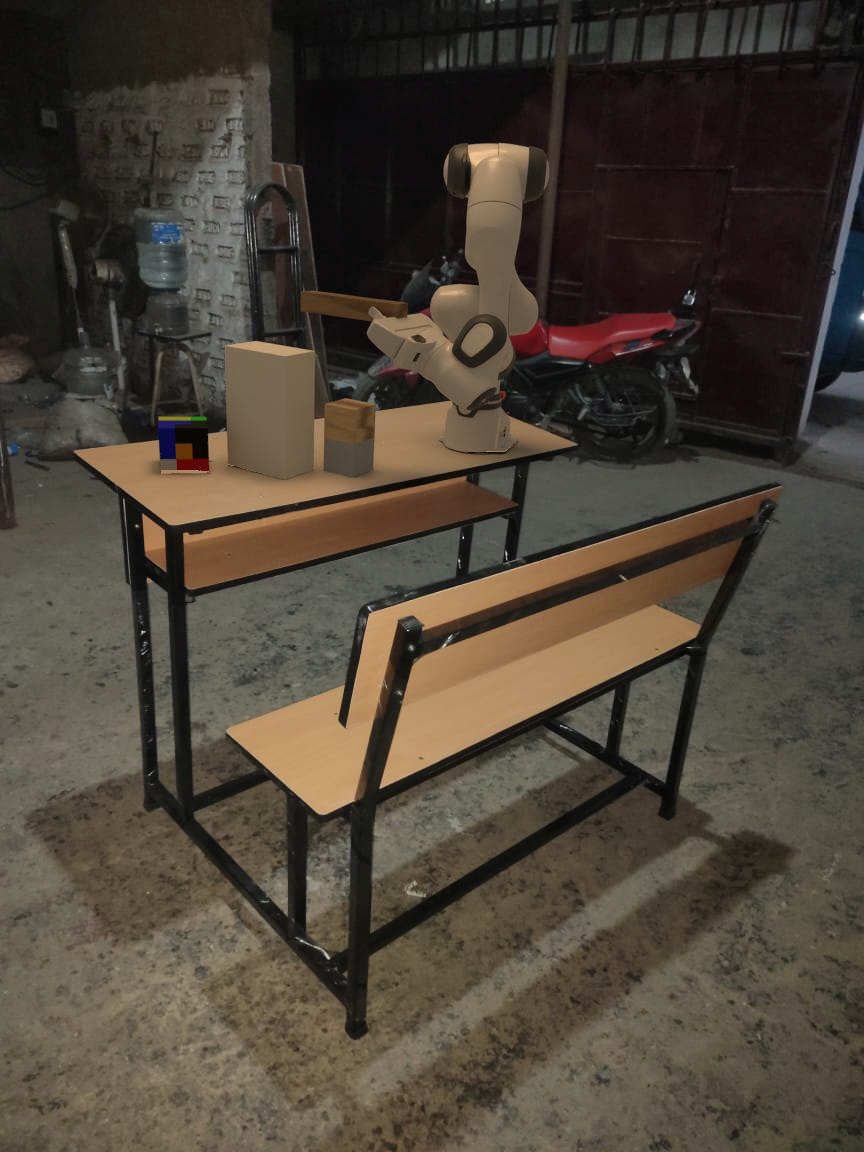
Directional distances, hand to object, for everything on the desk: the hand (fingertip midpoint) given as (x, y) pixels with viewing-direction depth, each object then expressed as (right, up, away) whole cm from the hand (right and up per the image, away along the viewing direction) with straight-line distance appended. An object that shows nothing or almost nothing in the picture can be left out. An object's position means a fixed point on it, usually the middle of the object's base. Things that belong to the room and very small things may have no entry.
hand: (378, 308), depth 176 cm
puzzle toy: (-43, -31, +11) cm, 54 cm away
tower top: (-7, -24, +14) cm, 29 cm away
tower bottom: (-8, -31, +17) cm, 36 cm away
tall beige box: (-25, -31, +15) cm, 42 cm away
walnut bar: (-6, -1, +4) cm, 7 cm away
